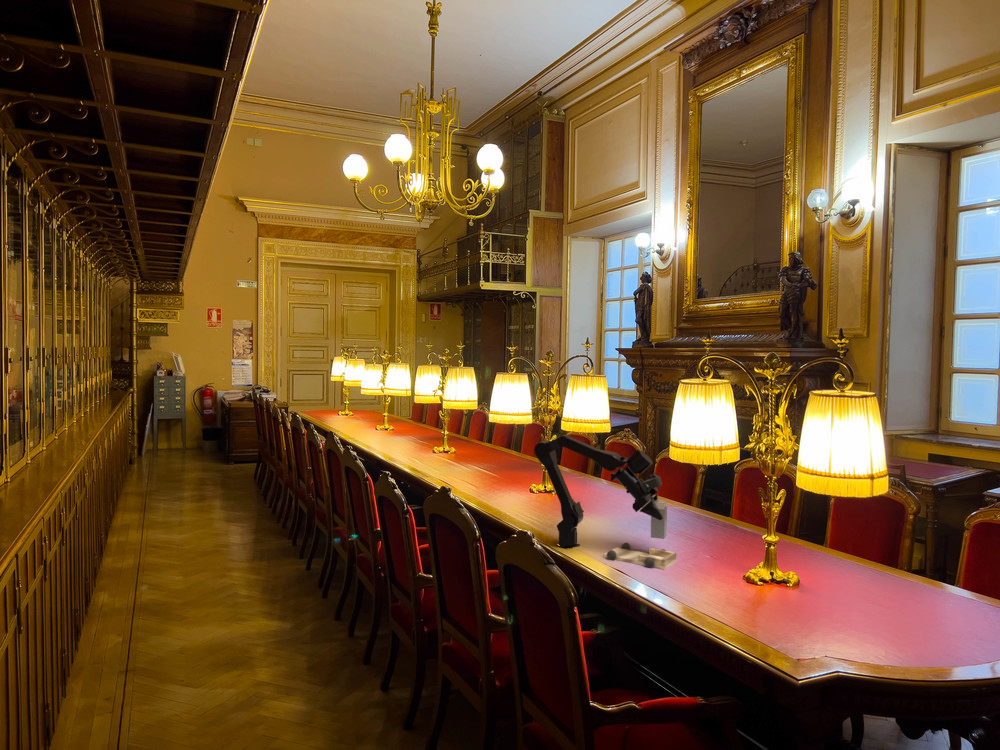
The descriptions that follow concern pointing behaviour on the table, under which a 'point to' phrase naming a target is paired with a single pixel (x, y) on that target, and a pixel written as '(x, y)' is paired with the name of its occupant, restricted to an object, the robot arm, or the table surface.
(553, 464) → the robot arm
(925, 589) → the table surface
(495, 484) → the table surface
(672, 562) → the chassis
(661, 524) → the grey rectangular block
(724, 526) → the table surface
